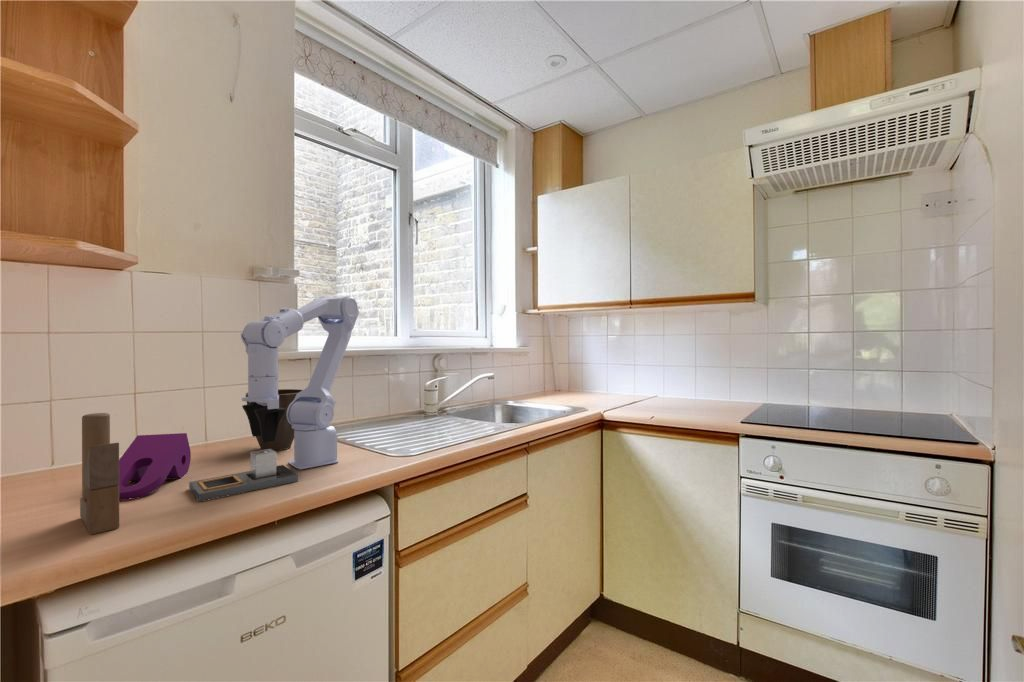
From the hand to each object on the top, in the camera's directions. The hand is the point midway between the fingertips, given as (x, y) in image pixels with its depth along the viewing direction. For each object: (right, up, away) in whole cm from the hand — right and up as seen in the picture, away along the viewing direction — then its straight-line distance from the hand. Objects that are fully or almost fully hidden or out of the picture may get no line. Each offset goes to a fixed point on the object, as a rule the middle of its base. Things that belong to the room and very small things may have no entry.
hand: (263, 438), depth 98 cm
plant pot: (-13, -9, +30) cm, 34 cm away
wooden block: (-15, -10, -22) cm, 29 cm away
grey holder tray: (-2, -9, -2) cm, 10 cm away
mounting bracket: (-23, -10, -3) cm, 25 cm away
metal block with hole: (0, -9, 0) cm, 9 cm away
